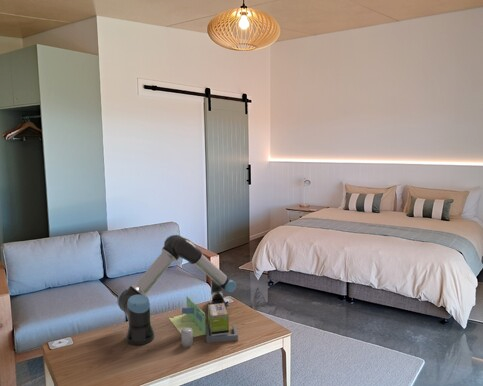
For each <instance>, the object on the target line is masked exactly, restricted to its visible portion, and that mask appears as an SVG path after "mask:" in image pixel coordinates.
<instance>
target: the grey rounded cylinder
mask: <svg viewBox="0 0 483 386" xmlns="http://www.w3.org/2000/svg"><path fill="white" fill-rule="evenodd" d="M180 336H181V346H182V347H183V348H189V347H190V348H191V347H192V346H193V344H194V337H193V331H192V328H183V329H182V330H181V333H180Z"/></svg>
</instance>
